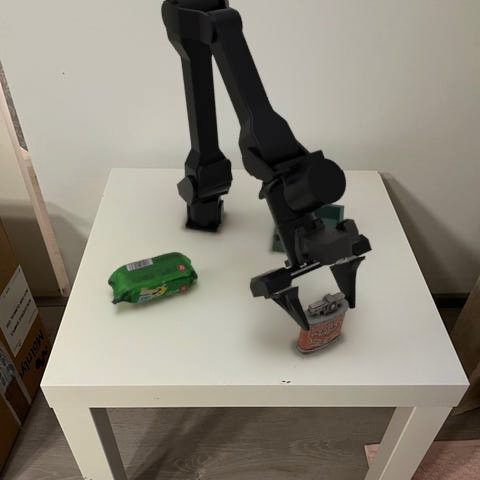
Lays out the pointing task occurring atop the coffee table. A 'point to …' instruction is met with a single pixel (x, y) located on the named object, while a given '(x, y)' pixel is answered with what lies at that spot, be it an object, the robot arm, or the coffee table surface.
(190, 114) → the robot arm
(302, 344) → the lighter
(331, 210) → the shallow open tray
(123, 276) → the snack package
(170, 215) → the coffee table surface
